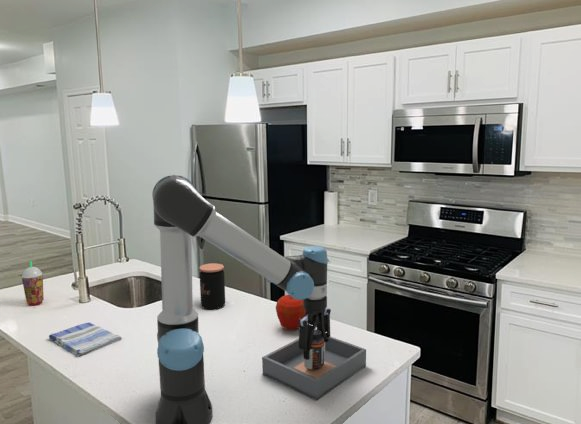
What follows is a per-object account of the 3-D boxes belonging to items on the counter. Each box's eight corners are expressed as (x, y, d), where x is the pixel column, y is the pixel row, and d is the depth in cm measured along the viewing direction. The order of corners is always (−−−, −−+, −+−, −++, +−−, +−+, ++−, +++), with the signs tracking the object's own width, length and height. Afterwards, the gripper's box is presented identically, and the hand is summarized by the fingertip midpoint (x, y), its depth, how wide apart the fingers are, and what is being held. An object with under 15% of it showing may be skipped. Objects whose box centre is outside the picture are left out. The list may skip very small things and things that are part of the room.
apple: (280, 336, 176) (279, 301, 173) (272, 324, 187) (272, 290, 185) (311, 332, 179) (311, 298, 176) (302, 320, 190) (302, 287, 188)
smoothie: (20, 306, 208) (15, 262, 204) (35, 299, 216) (30, 257, 212) (35, 308, 206) (30, 264, 202) (50, 301, 213) (45, 259, 210)
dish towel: (78, 359, 161) (78, 351, 160) (47, 340, 176) (46, 333, 175) (123, 341, 174) (123, 334, 174) (91, 325, 189) (90, 318, 188)
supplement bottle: (304, 368, 149) (304, 334, 147) (307, 359, 155) (307, 327, 152) (322, 369, 148) (322, 336, 146) (325, 360, 153) (325, 328, 151)
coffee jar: (198, 303, 209) (196, 265, 206) (221, 299, 214) (220, 262, 211) (204, 312, 200) (202, 271, 197) (228, 307, 204) (227, 268, 201)
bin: (316, 400, 135) (316, 381, 134) (262, 374, 149) (262, 357, 148) (365, 366, 154) (366, 349, 153) (313, 346, 168) (313, 330, 167)
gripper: (304, 307, 137) (305, 379, 142) (342, 290, 151) (341, 356, 155) (286, 301, 142) (286, 371, 147) (324, 285, 156) (323, 349, 160)
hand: (314, 363), depth 151 cm, fingers closed on supplement bottle, 6 cm apart
